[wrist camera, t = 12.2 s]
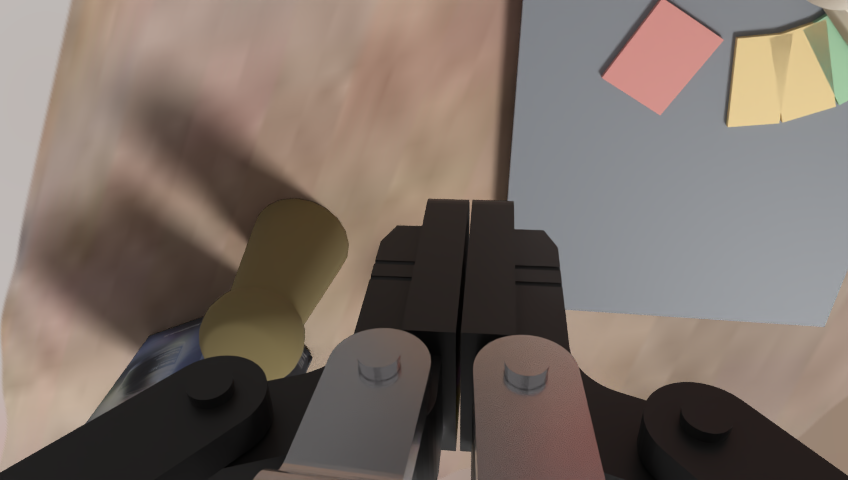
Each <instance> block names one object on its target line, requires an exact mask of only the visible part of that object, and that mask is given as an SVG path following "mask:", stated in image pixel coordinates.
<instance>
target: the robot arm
mask: <svg viewBox="0 0 848 480" xmlns="http://www.w3.org/2000/svg"><path fill="white" fill-rule="evenodd" d="M460 392H461V399H460ZM459 404H460V451H469V452H471V480H848V476H847V475H846V474H844V473H843V472H842V471H840V470H839V469H838V468H836V467H835V466H833V465H832V464H831V463H829V462H828V461H826V460H825V459H824V458H822V457H821V456H819V455H818V454H817V453H815V452H814V451H812V450H811V449H810V448H808V447H807V446H805V445H804V444H802V443H801V442H800V441H798V440H797V439H796V438H794V437H793V436H791V435H790V434H789V433H787V432H786V431H784V430H783V429H782V428H780V427H779V426H777V425H776V424H775V423H773V422H772V421H770V420H769V419H768V418H766V417H765V416H763V415H762V414H760V413H759V412H758V411H756V410H755V409H753V408H752V407H751V406H749V405H748V404H746V403H745V402H744V401H742V400H741V399H739V398H738V397H736V396H734V395H733V394H731V393H729V392H727V391H725V390H722V389H720V388H717V387H714V386H710V385H706V384H702V383H695V382H680V383H673V384H669V385H665V386H663V387H661V388H659V389H657V390H656V391H655V392H653V393H652V394H651V395H650V396H649V398H648V399H647V401H646V400H643V399H639V398H636V397H633V396H629V395H626V394H623V393H620V392H617V391H614V390H611V389H609V388H607V387H604V386H602V385H600V384H599V383H597V382H595V381H594V380H592V379H591V378H590V377H588V376H587V375H586V374H585V373H584V372H583V371H582V370H581V369H580V368H579V367H578V364H577V362H576V361H575V359H574V357H573V356H572V355H571V352H570V348H569V340H568V331H567V322H566V314H565V305H564V296H563V287H562V279H561V271H560V261H559V252H558V247H557V246H556V244H555V243H554V242H553V241H552V240H551V238H550V237H549V236H548V235H547V234H546V232H545V231H544V230H524V229H514V201H495V200H473V201H472V212H471V223H470V234H469V200H455V199H428V201H427V205H426V210H425V215H424V220H423V225H422V226H398V225H397V226H396V227H395V228H394V229H393V230H392V231H391V232H390V233H389V234H388V235H387V236H386V237H385V238H384V239H383V240H382V241H381V243H380V246H379V250H378V253H377V256H376V260H375V264H374V267H373V270H372V274H371V279H370V281H369V284H368V287H367V291H366V294H365V298H364V301H363V305H362V308H361V312H360V315H359V318H358V322H357V325H356V329H355V332H354V335H351V336H349V337H348V338H346V339H344V340H343V341H342V342H341V343H339V344H338V345H337V346H336V347H335V349H334V350H333V351H332V353H331V355H330V357H329V359H328V361H327V363H326V366H324V367H322V368H320V369H317V370H314V371H312V372H309V373H304V374H300V375H295V376H290V377H285V378H279V379H274V380H269V381H267V378H266V375H265V373H264V371H263V369H262V368H261V367H260V366H259V365H258V364H256V363H255V362H253V361H251V360H249V359H247V358H243V357H239V356H230V355H226V356H215V357H209V358H206V359H202V360H199V361H197V362H194V363H192V364H190V365H188V366H186V367H184V368H182V369H180V370H179V371H177V372H175V373H173V374H172V375H170V376H168V377H166V378H165V379H163V380H161V381H159V382H158V383H156V384H154V385H152V386H151V387H149V388H147V389H145V390H144V391H142V392H140V393H139V394H137V395H135V396H133V397H132V398H130V399H128V400H126V401H125V402H123V403H121V404H119V405H118V406H116V407H114V408H112V409H111V410H109V411H107V412H105V413H104V414H102V415H100V416H98V417H97V418H95V419H93V420H91V421H90V422H88V423H86V424H84V425H83V426H81V427H79V428H77V429H76V430H74V431H72V432H70V433H69V434H67V435H65V436H63V437H62V438H60V439H58V440H56V441H55V442H53V443H51V444H49V445H48V446H46V447H44V448H42V449H41V450H39V451H37V452H35V453H34V454H32V455H30V456H28V457H27V458H25V459H23V460H21V461H20V462H18V463H16V464H14V465H13V466H11V467H9V468H7V469H6V470H4V471H2V472H0V480H437V477H438V472H439V463H440V453H441V450H450V451H456V442H457V429H458V417H459Z"/></svg>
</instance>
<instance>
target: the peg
mask: <svg viewBox="0 0 848 480" xmlns="http://www.w3.org/2000/svg"><path fill="white" fill-rule="evenodd" d="M807 1H808V2H810V3H812V4H814V5H816V6H819V7H821V8H823V10H824V11H825V13H826V14H827V16H828V17H829V19H830V20H831V21H832V23H833V24H834V26H835V27H836V29H837V30H838V32H839V33H840V35H841V36H842V38H843V39H844V41H845V42H846V44H847V45H848V0H807Z"/></svg>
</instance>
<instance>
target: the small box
mask: <svg viewBox="0 0 848 480" xmlns="http://www.w3.org/2000/svg"><path fill="white" fill-rule="evenodd" d="M203 318H204V317H201V318H199V319H196V320H193V321H190V322H187V323H185V324H182V325H179V326H176V327H173V328H171V329H168V330H165V331H162V332H159V333H156V334H154V335H151V336H149V337H148V338H147V340H146V341H145V343H144V344H143V345H142V347H141V348H140V349H139V351H138V352H137V354H136V355H135V356H134V358H133V359H132V361H131V362H130V363H129V365H128V366H127V368H126V369H125V370H124V372H123V373H122V374H121V376H120V377H119V378H118V380H117V381H116V383H115V384H114V385H113V387H112V388H111V390H110V391H109V392H108V394H107V395H106V396H105V398H104V399H103V400H102V402H101V403H100V405H99V406H98V407H97V409H96V410H95V411H94V413H93V414H92V416H91V417H90V418H89V420H88V421H87V422H86V423H88V422H90V421H91V420H93V419H95V418H97V417H98V416H100V415H102V414H104V413H105V412H107V411H109V410H111V409H112V408H114V407H116V406H118V405H119V404H121V403H123V402H125V401H126V400H128V399H130V398H132V397H133V396H135V395H137V394H139V393H140V392H142V391H144V390H145V389H147V388H149V387H151V386H152V385H154V384H156V383H158V382H159V381H161V380H163V379H165V378H166V377H168V376H170V375H172V374H173V373H175V372H177V371H179V370H180V369H182V368H184V367H186V366H188V365H190V364H192V363H194V362H197V361H199V360H202V359H204V357H203V355H202V352H201V349H200V345H199V330H200V326H201V323H202V321H203ZM311 361H312V356H311V355H310V353H309V352H308V350H307V349H306V348H305V347H304V350H303V352H302V355H301V357H300V359H299V361H298V363H297V364H296V366H295V368H294V369H293V370H292V371H291V372H290V373H289V374H288V375H287V376H285V377H290V376H295V375H300V374H304V373H306V372H307V369H308V367H309V365H310V363H311ZM285 377H284V378H285Z"/></svg>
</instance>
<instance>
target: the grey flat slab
mask: <svg viewBox="0 0 848 480" xmlns="http://www.w3.org/2000/svg"><path fill="white" fill-rule="evenodd" d="M507 201H514V229H524V230H544V231H545V232H546V234H547V235H548V236H549V237H550V238H551V240H552V241H553V242H554V243H555V244H556V246H557V247H558V252H559V261H560V271H561V279H562V287H563V296H564V305H565V310H579V311H594V312H609V313H624V314H639V315H654V316H669V317H684V318H699V319H714V320H729V321H744V322H759V323H774V324H789V325H804V326H819V327H825V324H826V322H827V319H828V317H829V314H830V312H831V309H832V307H833V304H834V302H835V299H836V297H837V295H838V292H839V290H840V287H841V285H842V282H843V280H844V277H845V275H846V272H847V270H848V45H847V44H846V42H845V41H844V39H843V38H842V36H841V35H840V33H839V32H838V30H837V29H836V27H835V26H834V24H833V23H832V21H831V20H830V19H829V17H828V16H827V14H826V13H825V11H824V10H823V8H821V7H819V6H816V5H814V4H812V3H810V2H808V1H807V0H522V12H521V25H520V38H519V51H518V64H517V77H516V90H515V103H514V116H513V129H512V142H511V155H510V168H509V181H508V194H507Z"/></svg>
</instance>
